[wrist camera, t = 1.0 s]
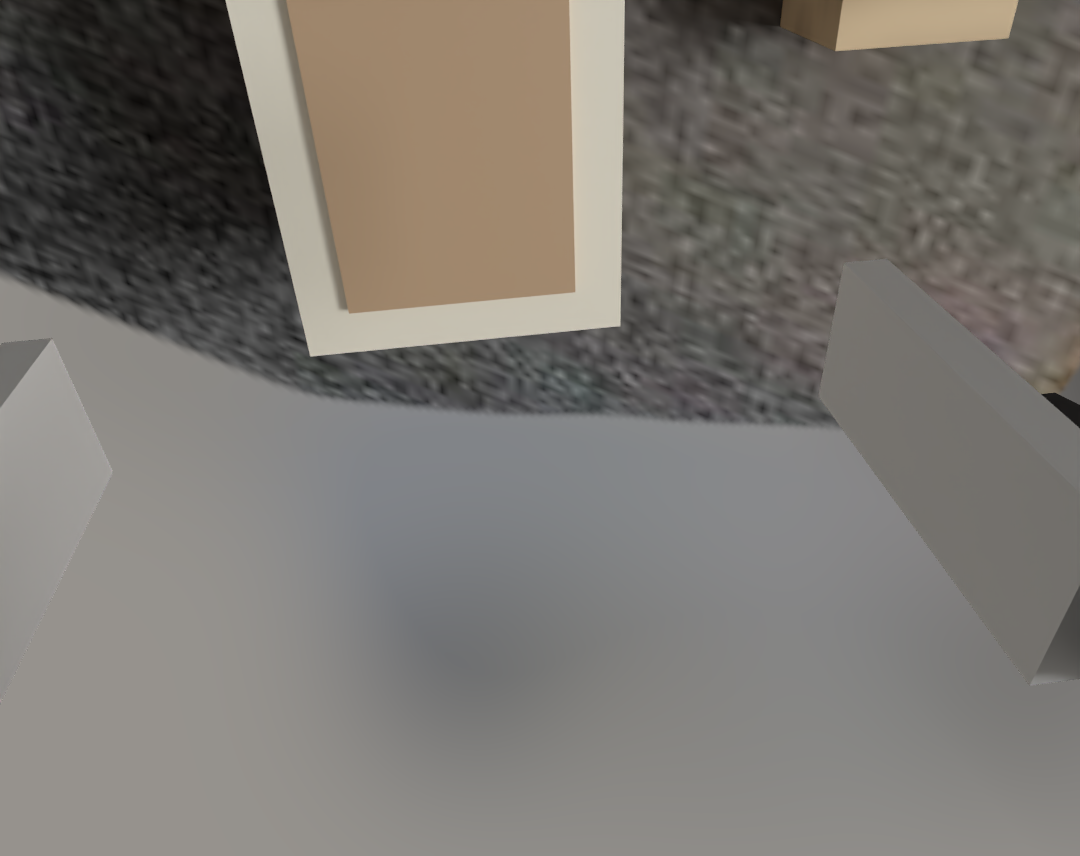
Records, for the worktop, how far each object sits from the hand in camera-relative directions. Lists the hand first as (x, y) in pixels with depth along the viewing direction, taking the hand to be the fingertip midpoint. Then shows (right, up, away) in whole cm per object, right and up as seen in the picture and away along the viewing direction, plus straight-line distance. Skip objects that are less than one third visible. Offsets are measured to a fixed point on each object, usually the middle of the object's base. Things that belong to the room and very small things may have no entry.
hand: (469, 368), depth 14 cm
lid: (-2, +8, +11) cm, 13 cm away
